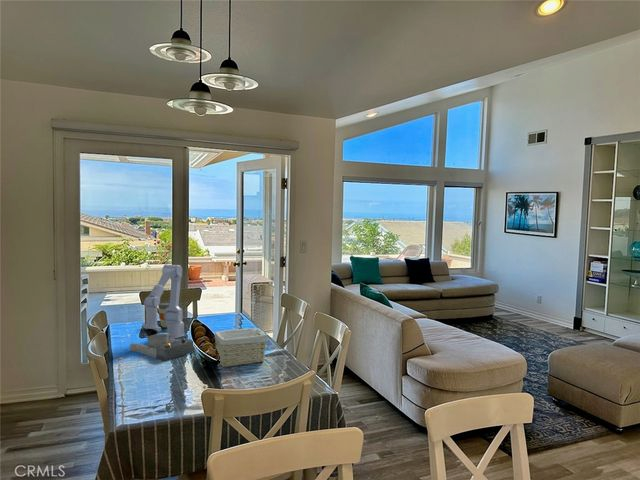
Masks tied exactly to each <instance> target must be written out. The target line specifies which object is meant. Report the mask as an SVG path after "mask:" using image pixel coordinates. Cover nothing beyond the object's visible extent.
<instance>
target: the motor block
mask: <svg viewBox="0 0 640 480" xmlns="http://www.w3.org/2000/svg"><path fill="white" fill-rule="evenodd" d="M192 340H193V339H190V338H183V339H178V338H170V340H169V341H168V343H165V345H161V346H157V347H156V348H152V347H149V346H148V345H146V344H142V343H139V342H138V343H137V342H136V343H135V342H132V343H129V351H130V352H137V353H140V354H142V355H145V356H149V357H150V358H154V359H156V360H160V361H163V362H166V361H169V360H173V359H176V358H179V357H182V356H186V355H189V354H191V353H190V352H192V351H193V350H194V347H193V341H192ZM188 353H189V354H188ZM192 353H193V352H192ZM185 354H186V355H185Z"/></svg>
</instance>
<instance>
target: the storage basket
mask: <svg viewBox="0 0 640 480" xmlns="http://www.w3.org/2000/svg"><path fill="white" fill-rule="evenodd" d="M214 340H215V350H216V349H217V351H218V353H219V356H220V363H219V365H221V367H223V368H228V367H233V366H234V367H235V366H236V367H237V366H240V365H251V364H257V363H262V362H265V361H264V360H265V354H266V353H265V351H266V343H267V341H268V334H267V333H265V332H264V331H263V330H262V329H260V328H259V327H254V328H253V327H252V328H251V327H250V328H239V329H226V330H220V331H215V332H214Z"/></svg>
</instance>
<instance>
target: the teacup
mask: <svg viewBox="0 0 640 480" xmlns="http://www.w3.org/2000/svg"><path fill="white" fill-rule="evenodd" d="M170 338H171V335H170V334H169V333H167V332H166V333H156V334H155V335H151V336H149V337H148V336H147V338H146V339H147V346H149V347H152V348H156V347H157V346H161V345H165V343H168V341H169V340H170Z"/></svg>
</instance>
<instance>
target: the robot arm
mask: <svg viewBox="0 0 640 480" xmlns="http://www.w3.org/2000/svg"><path fill="white" fill-rule="evenodd" d="M182 267H183V266H181V265H180V264H167V263H165V264H164V265H163V267H162V269H161V272H162V274H161V277H160V279H159V280H158V282H157V284H156V285H154V287H152V290H151V291H150V293H149V295H148V296H147V297H145V298H144V300H143V305H144V309H145V323H142V325H141V327H142V328H143V329H145V330H144V332H145V333H146V335H147V337H149V336H151V335H155V334H158V332H162V327H161V326H159V325H158V305H159V303H161V297H162V295H163V293H164V291H165V289H164V288H165V285H166V284H167V283H168V281H169V280H171V281H170V283H171V284H170V295H169V296H170V297H169V301H170V305H169V307H168V308H166V310H165V314H164V319H165V321H166V323H167V327H166V334H167V333H169V334H170V335H171V338H174V339H178V338H182V337H185V335H186V334H185V324H184V322H183V318H184V315H183V313H184V312H183V308H181V307H180V306H179V305H180V302H179V301H180V292H181V279H182V278H183V268H182Z"/></svg>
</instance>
